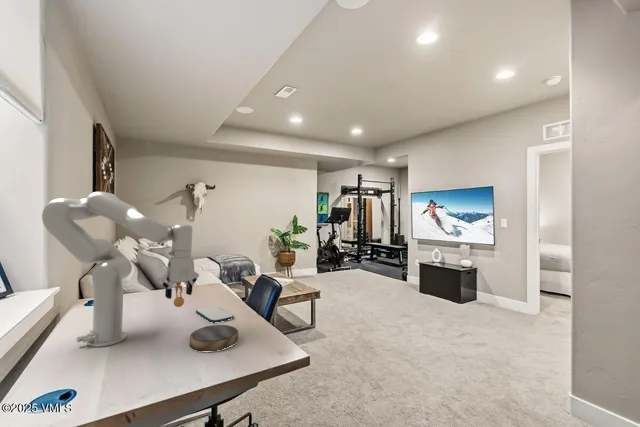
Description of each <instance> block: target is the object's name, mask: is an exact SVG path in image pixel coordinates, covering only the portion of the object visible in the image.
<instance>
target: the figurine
mask: <svg viewBox="0 0 640 427" xmlns="http://www.w3.org/2000/svg"><path fill="white" fill-rule="evenodd" d="M185 283H186V286H187V285H188V283H187V282H185ZM181 284H182V282H180V283H175V286H174V288H175V298H174V300H173V305H174V307H176V308H180V307H182V306H183V305H184V304H185V299H184V298H183V297H182V292H183V285H181ZM188 287H189V285H188ZM179 291H180V292H179ZM178 292H179V293H178ZM178 294H179V296H178Z"/></svg>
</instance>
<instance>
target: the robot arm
mask: <svg viewBox="0 0 640 427" xmlns="http://www.w3.org/2000/svg"><path fill="white" fill-rule="evenodd" d="M95 217H104V218H105V219H108V220H110V221H112V222H114V223H116V224H119V225H121V226H123V227H124V228H125V229H126V230H128V231H130V232H132V233H133V234H135V235H137V236H138V237H139V236H140V237H141V238H143V239H145V240H147V241H150V242H153V243H157V244H158V243H159V244H160V243H163V242H168V241H169V242H170V241H171V251H169V252H168V253H167V254H168V256H170V257H169V259H168V262H167V268H166V273H165V274H163V275H162V276H161V277H160V278H159V279H158V281H159V283H160V284H161V285H162V287H164V289H165V293H164V294H165V298H166V299H168V300H171V299H172V297H173V295H172V293H173V289H172V287H173V285H174V284H176V283H180V282H181V283H184V282H185V283H186V282H187V283H188V285H189V287H188V285H187V284H186V286H185V287H186V290H185V294H186V295H189V296H192V294H193V286H194V285H195V283H196V281H197V280H198V278H199V277H200V274H199V273H198V272H196V271H195V263H194V262H195V261H194V256H192V244H193V226H192V225H189V224H173V223H161V222H160V223H159V222H157V221H155V220H153V219H151V218H149V217H147V216H145V215H144V214H142V213H141V212H140V211H139V209H138V208H137V207H136V206H134V205H132V204H130V203H127V202H125V201H123V200H121V199H120V198H119V197H118V196H117V195H115V194H113V193H111V192H105V191H94V192H91V193H90V194H89V195H87V197H86V198H80V199H76V198H75V199H74V198H66V197H64V198H63V197H61V198H55V199H51V200H50V201H49V202H47V204H45V206H44V207H43V210H42V213H41V219H42V224H43V225H44V228H45V229H46V230H47V231H48V232H49V233H50V234H51V235H52V236H53V237H54V239H56V240H57V241H58V242H59V243H60V244H61V245H62V246H63V247H64V248H65V249H66V250H67V251H68V252H69V253H70V254H71V255H72V256H74V258H75V259H77V261H78V262H80V263H81V264H83V265H93V264H97V265H96V266H95V267H94V268H93V270H92V274H91V281H92V286H93V288H92V289H93V308H92V309H93V310H92V311H93V313H92V314H93V317H92V330H89V333H87V334H86V335H80V336H78V337H76V342H77V343H80V342H83V343H87V346H88V347H93V348H96V347H97V348H99V347H101V348H102V347H107V346H112V345H116V344H118V343H121V342H123V341H124V340H126V339H127V335H128V334H127V333H126V332H124V331H123V318H124V317H123V313H124V311H123V310H124V288H123V281H122V280H125V279H126V278H127V277H129V275H131V273H132V270H133V266H132V265H133V264H132V263H131V261H130V260H129V259H128V258H127V256H126V255H125V254H123V253H122V252H121V251H120V249H118V248H117V247H116V245H114V244H113V243H112V242H111V241H109V240H107V239H104V238H94V237H92V236H91V235H90V234H89V233H88V232H87V231H86V229H84V228H83V226H80V225H79V224H77V222H75V221H81V220H82V221H83V220H87V219H91V218H95ZM165 280H166V281H165Z"/></svg>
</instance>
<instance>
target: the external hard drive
mask: <svg viewBox="0 0 640 427" xmlns="http://www.w3.org/2000/svg"><path fill="white" fill-rule="evenodd" d="M196 313H197V315H198V316H199V315H200V316H199V317H201V318H202V317H203V318H202V319H204V320H205V319H206V320H205V321H207V320H208V321H209V322H208V321H207V322H208V323H210V322H213V323H212V324H216V323H215V322H221V321H225V320H228V319H231V318H233V319H234V314H232V313H231V312H229V311H227V310H225V309H223V308H221V307H220V306H218V305H208V306H203V307H197V308H196V309H195V314H196ZM225 322H226V321H225ZM221 323H222V322H221Z"/></svg>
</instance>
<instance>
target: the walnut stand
mask: <svg viewBox="0 0 640 427" xmlns="http://www.w3.org/2000/svg"><path fill="white" fill-rule="evenodd" d="M237 340H238V341H239V329H238V328H237V327H234V326H233V325H232V326H231V325H228V324H213V325H207V326H203V327H200V328H198V329H196V330H194V331H193V332H191V334H190V335H189V348H190V347H191V348H192V349H194V350H197V351H217V350H222V349H224V348H227V347H229V346H231V345H233V344H235V343H236V342H237ZM237 343H238V342H237ZM235 345H236V344H235ZM191 348H190V349H191ZM192 349H191V350H192ZM194 350H193V351H194ZM197 351H196V352H197ZM222 351H223V350H222Z"/></svg>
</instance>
